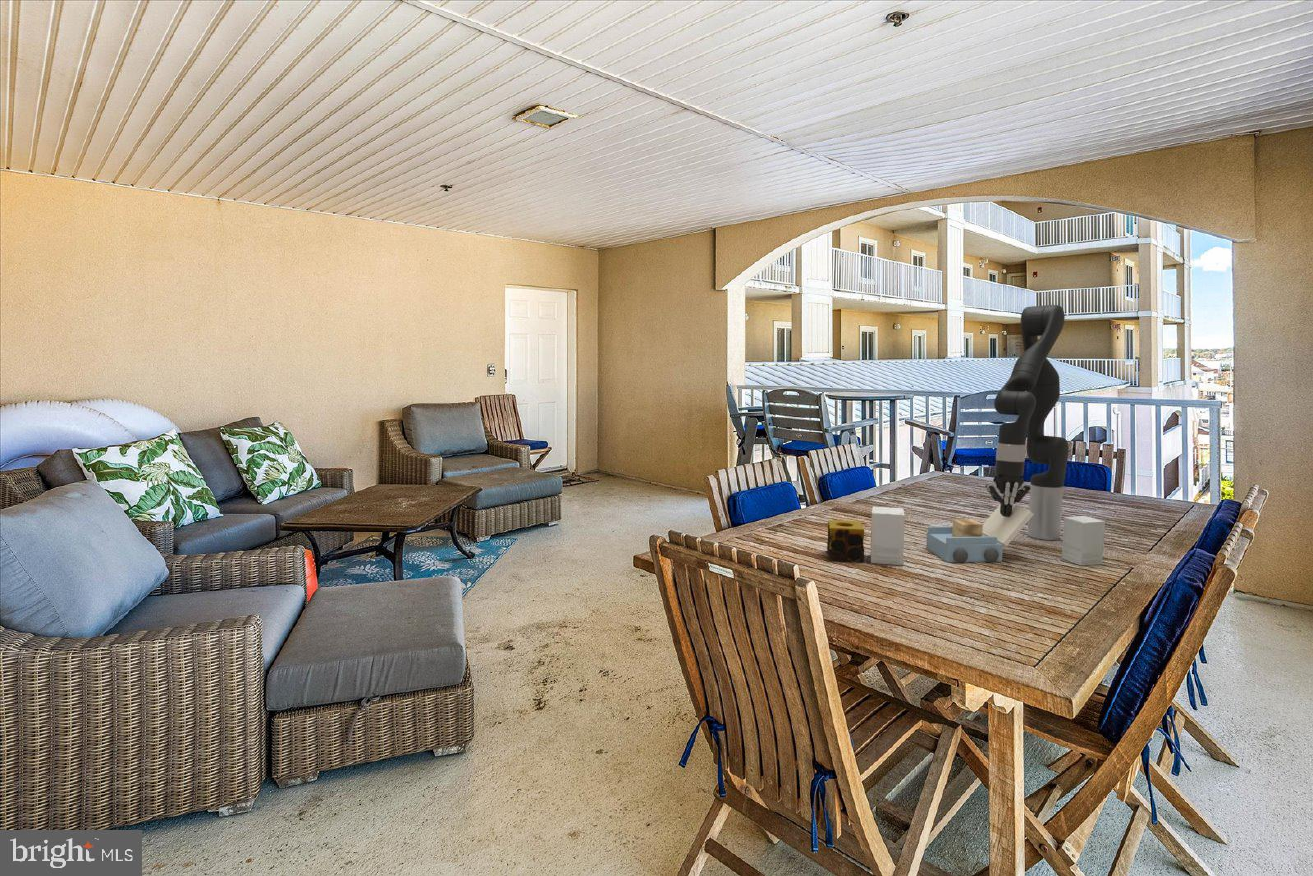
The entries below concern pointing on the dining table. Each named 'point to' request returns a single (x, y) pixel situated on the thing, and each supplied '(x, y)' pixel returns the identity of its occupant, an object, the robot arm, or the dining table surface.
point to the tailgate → (1006, 524)
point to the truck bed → (962, 546)
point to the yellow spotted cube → (845, 541)
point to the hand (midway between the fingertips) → (1005, 516)
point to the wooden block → (967, 528)
